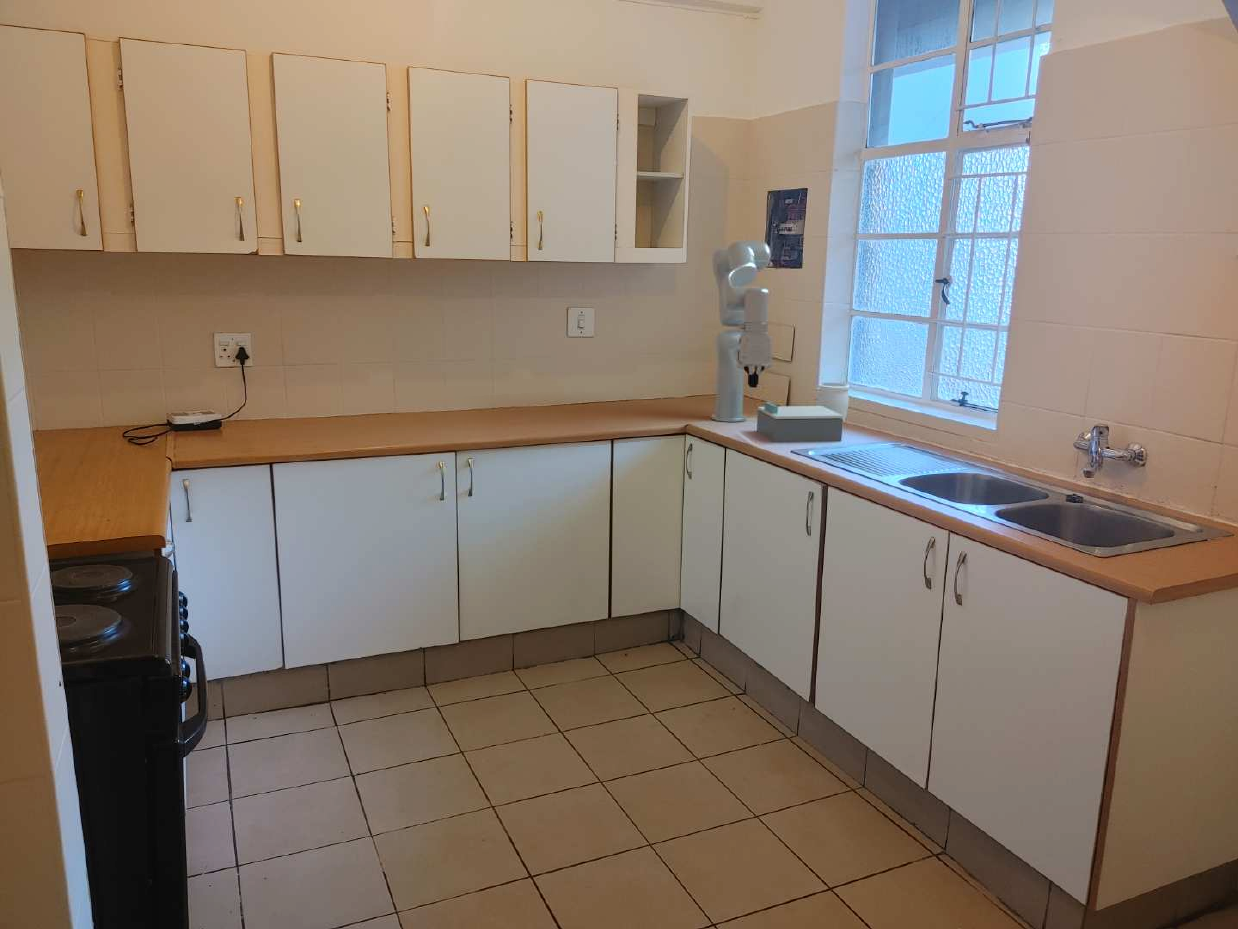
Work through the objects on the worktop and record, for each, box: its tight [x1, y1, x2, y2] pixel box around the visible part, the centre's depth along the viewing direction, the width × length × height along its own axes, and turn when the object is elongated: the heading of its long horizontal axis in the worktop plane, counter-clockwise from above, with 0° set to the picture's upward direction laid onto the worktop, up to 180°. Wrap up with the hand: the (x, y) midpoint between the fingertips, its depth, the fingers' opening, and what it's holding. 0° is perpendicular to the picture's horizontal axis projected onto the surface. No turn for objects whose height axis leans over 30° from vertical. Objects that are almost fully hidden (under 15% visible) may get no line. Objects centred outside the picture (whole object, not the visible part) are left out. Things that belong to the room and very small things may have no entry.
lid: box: [757, 401, 843, 419], centre depth 293 cm, size 18×22×3 cm
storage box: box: [756, 409, 844, 443], centre depth 295 cm, size 18×22×8 cm
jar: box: [816, 382, 850, 428], centre depth 313 cm, size 11×10×15 cm
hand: (752, 387), depth 289 cm, fingers closed
